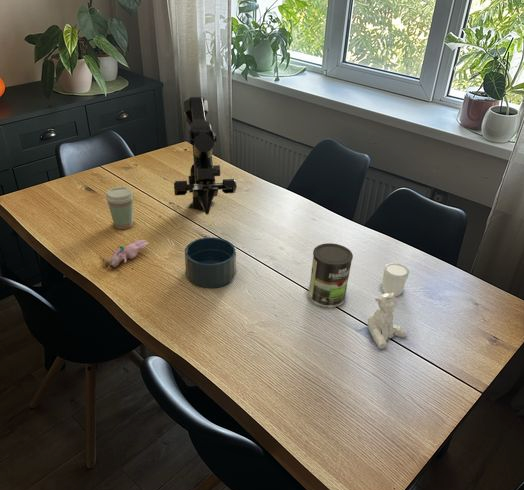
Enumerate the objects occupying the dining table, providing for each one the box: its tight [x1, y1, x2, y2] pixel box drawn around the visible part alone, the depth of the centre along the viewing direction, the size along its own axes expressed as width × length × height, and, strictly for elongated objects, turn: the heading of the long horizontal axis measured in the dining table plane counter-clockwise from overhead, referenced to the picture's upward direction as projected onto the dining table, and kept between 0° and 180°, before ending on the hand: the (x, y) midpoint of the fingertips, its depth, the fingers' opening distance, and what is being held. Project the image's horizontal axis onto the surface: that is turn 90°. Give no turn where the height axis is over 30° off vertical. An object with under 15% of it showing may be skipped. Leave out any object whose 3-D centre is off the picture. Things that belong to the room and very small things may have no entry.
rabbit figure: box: [102, 239, 150, 270], centre depth 146 cm, size 6×6×15 cm
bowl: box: [184, 236, 237, 289], centre depth 141 cm, size 14×14×8 cm
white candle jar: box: [381, 262, 410, 297], centre depth 139 cm, size 7×7×7 cm
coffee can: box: [307, 242, 354, 309], centre depth 133 cm, size 10×10×14 cm
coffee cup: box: [105, 186, 134, 230], centre depth 160 cm, size 9×9×12 cm
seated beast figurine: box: [367, 293, 407, 350], centre depth 122 cm, size 10×9×12 cm
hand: (207, 214), depth 150 cm, fingers closed
